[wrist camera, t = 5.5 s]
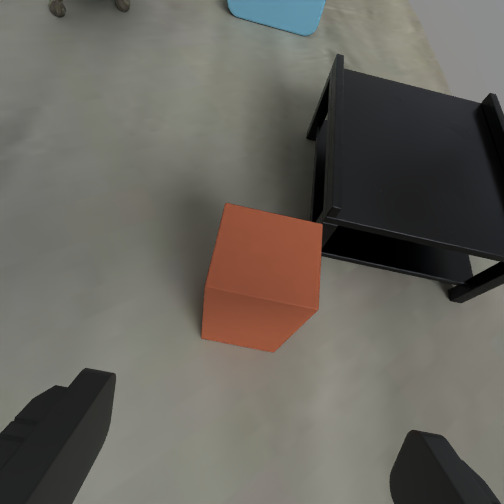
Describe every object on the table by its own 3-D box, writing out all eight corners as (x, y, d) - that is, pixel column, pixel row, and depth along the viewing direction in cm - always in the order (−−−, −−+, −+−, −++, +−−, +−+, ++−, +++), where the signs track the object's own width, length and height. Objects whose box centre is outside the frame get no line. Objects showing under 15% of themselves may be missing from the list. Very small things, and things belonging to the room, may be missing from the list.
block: (200, 338, 21) (204, 286, 13) (215, 276, 23) (225, 202, 16) (273, 352, 21) (318, 310, 14) (281, 290, 24) (323, 223, 16)
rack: (293, 267, 25) (332, 206, 18) (307, 132, 33) (337, 53, 26) (461, 303, 26) (559, 257, 19) (434, 162, 34) (496, 94, 27)
